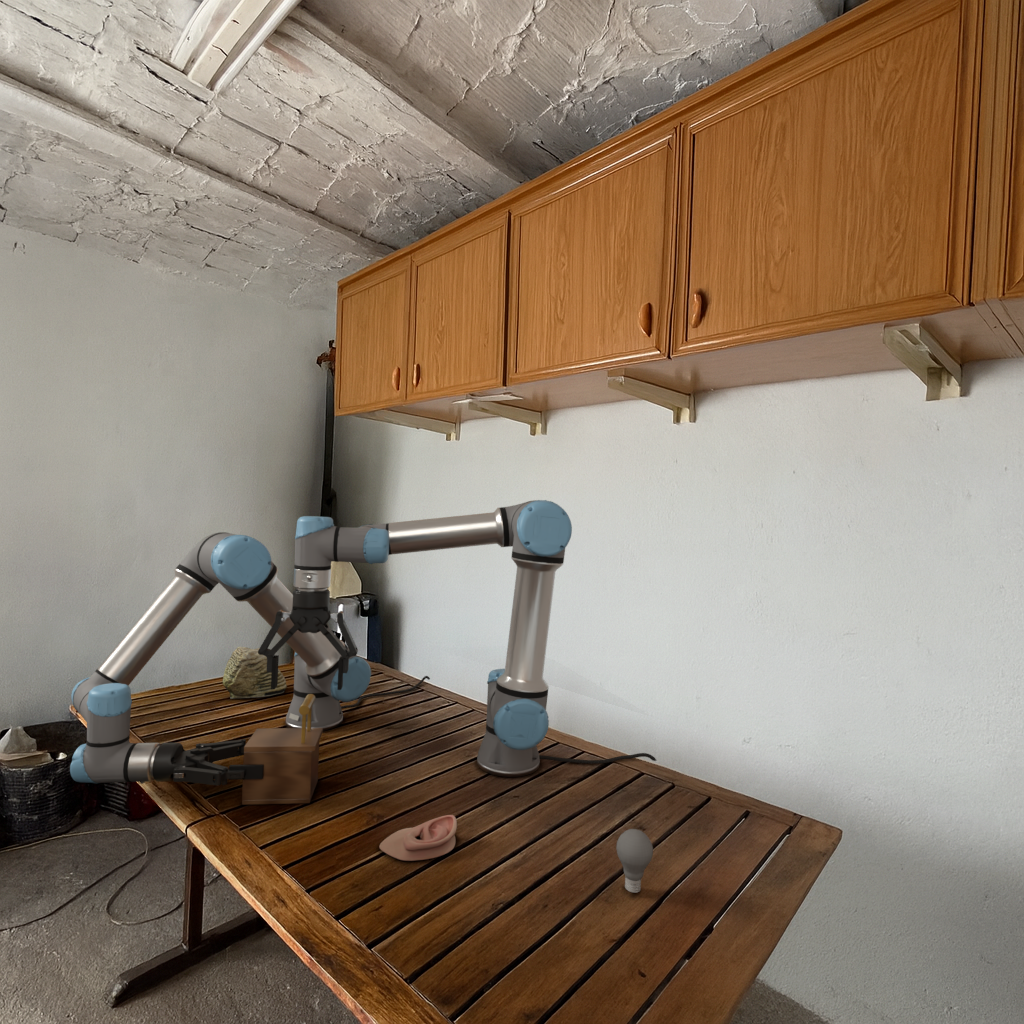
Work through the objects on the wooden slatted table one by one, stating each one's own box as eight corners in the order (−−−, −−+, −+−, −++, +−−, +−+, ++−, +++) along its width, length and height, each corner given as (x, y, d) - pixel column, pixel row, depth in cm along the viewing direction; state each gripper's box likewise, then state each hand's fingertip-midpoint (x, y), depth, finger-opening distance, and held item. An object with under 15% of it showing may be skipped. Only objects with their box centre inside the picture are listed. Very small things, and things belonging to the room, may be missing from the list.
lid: (322, 732, 141) (324, 691, 141) (314, 751, 131) (316, 707, 131) (256, 733, 139) (258, 691, 139) (243, 752, 129) (245, 707, 129)
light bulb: (610, 879, 108) (613, 822, 108) (644, 879, 109) (647, 822, 109) (619, 902, 102) (622, 840, 102) (655, 901, 103) (658, 840, 103)
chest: (317, 780, 141) (319, 732, 141) (309, 803, 131) (311, 751, 131) (255, 782, 139) (256, 733, 139) (241, 804, 129) (243, 752, 129)
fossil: (218, 695, 195) (220, 647, 195) (278, 685, 208) (279, 640, 207) (228, 703, 189) (230, 653, 188) (289, 692, 201) (290, 645, 201)
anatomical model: (372, 833, 112) (397, 803, 124) (372, 855, 112) (396, 824, 124) (444, 845, 110) (462, 813, 121) (443, 867, 110) (462, 834, 121)
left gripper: (178, 757, 143) (280, 756, 146) (132, 806, 120) (254, 803, 123) (179, 724, 143) (281, 723, 146) (134, 767, 120) (256, 765, 123)
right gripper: (245, 589, 129) (241, 692, 130) (370, 593, 133) (365, 693, 133) (255, 584, 137) (250, 682, 137) (372, 587, 140) (368, 683, 141)
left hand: (269, 760), depth 134 cm, fingers closed on chest, 10 cm apart
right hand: (307, 687), depth 135 cm, fingers open, 13 cm apart
